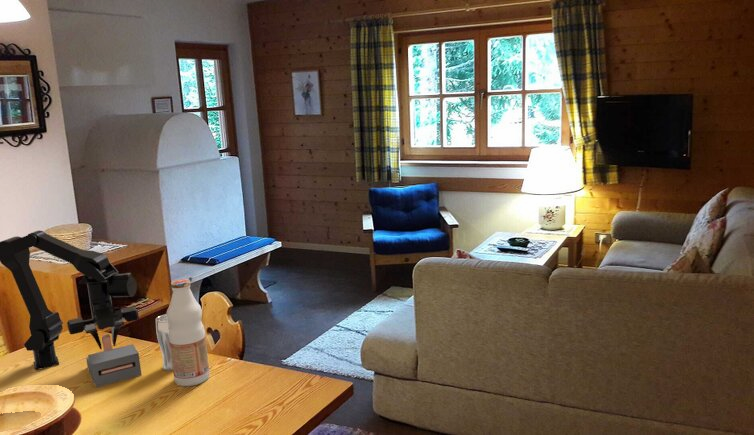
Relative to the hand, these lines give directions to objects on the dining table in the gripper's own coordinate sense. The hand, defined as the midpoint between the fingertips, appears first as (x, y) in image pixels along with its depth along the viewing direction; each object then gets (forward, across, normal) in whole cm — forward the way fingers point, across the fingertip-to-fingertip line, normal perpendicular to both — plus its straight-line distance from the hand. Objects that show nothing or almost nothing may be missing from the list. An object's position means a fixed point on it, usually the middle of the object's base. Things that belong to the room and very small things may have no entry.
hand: (107, 347), depth 183 cm
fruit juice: (+5, +17, -27) cm, 32 cm away
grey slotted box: (+5, 0, -7) cm, 9 cm away
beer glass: (+5, +15, -15) cm, 22 cm away
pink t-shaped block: (+2, 0, -7) cm, 7 cm away
